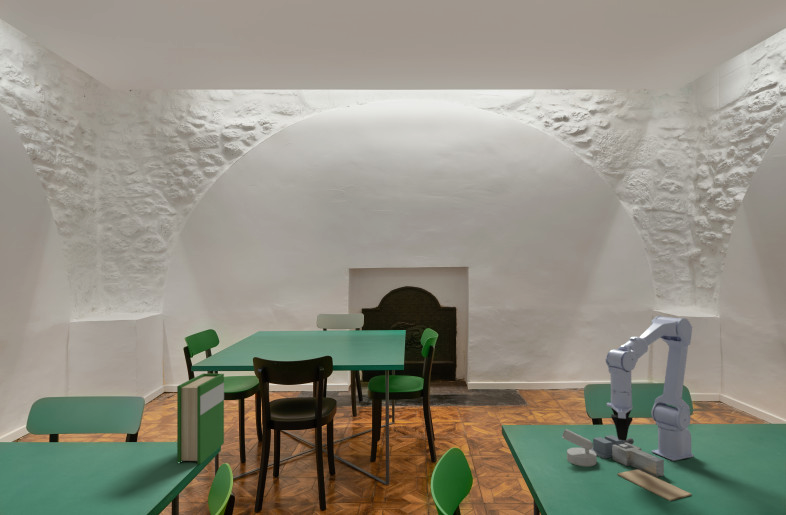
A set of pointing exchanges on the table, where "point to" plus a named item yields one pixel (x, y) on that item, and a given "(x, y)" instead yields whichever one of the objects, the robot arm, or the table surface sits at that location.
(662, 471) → the steel fork
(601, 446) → the vise
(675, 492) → the cork mat
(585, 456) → the wall hook
